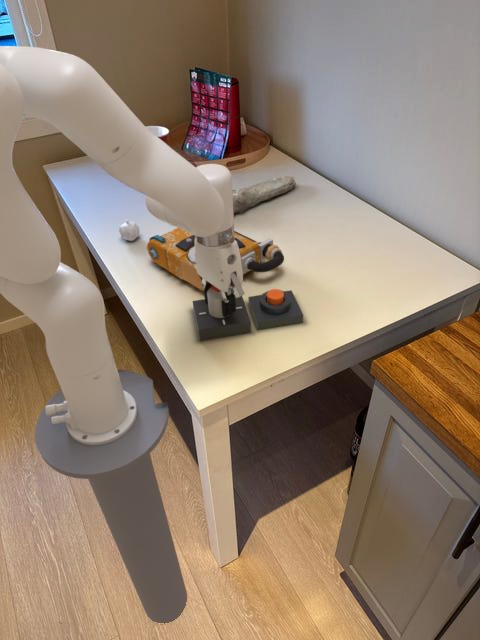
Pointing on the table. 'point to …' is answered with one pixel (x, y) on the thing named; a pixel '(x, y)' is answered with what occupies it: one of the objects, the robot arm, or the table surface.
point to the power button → (275, 297)
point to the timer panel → (221, 321)
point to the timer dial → (215, 301)
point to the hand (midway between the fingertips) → (220, 306)
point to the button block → (275, 311)
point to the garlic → (129, 230)
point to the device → (180, 254)
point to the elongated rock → (260, 192)
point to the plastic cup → (159, 132)
